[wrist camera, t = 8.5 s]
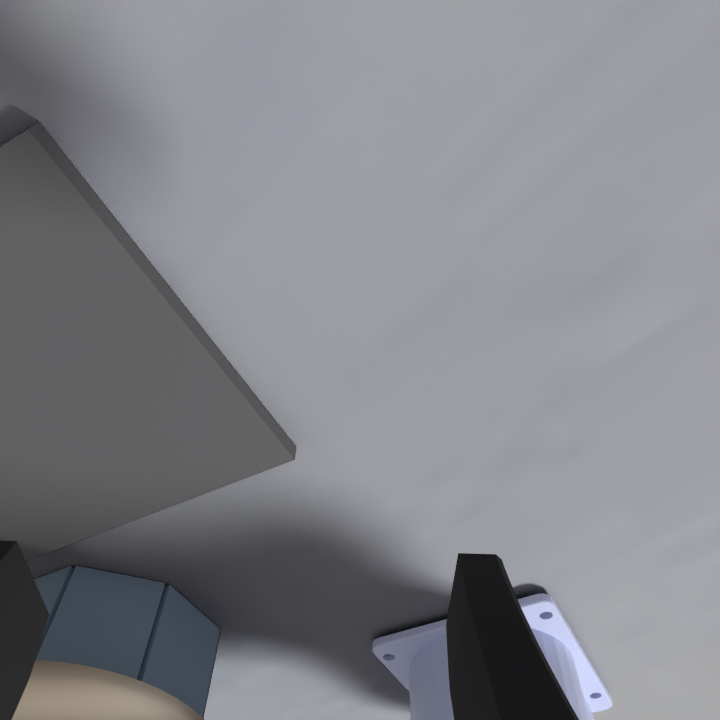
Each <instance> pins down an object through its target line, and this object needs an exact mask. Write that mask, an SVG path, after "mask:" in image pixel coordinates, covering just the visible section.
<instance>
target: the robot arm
mask: <svg viewBox="0 0 720 720" xmlns="http://www.w3.org/2000/svg"><path fill="white" fill-rule="evenodd" d="M48 617H49V613H48V610H47V608H46V606H45V604H44V601H43V599H42V597H41V594H40V592H39V590H38V588H37V585H36V583H35V581H34V578H33V576H32V574H31V572H30V569H29V567H28V565H27V563H26V560H25V558H24V556H23V553H22V551H21V549H20V547H19V544H18V542H17V541H0V720H12V718H13V715H14V713H15V711H16V708H17V706H18V704H19V702H20V699H21V697H22V695H23V692H24V690H25V688H26V685H27V683H28V681H29V678H30V675H31V672H32V669H33V666H34V663H35V660H36V657H37V654H38V651H39V647H40V644H41V641H42V637H43V634H44V630H45V627H46V624H47V620H48ZM372 652H373V653H374V655H375V656H376V657H377V658H378V659H379V660H380V661H381V662H382V663H383V664H384V665H385V666H386V667H387V669H388V670H389V671H390V672H391V673H392V674H393V675H394V676H395V677H396V678H397V679H398V680H399V681H400V683H401V684H402V685H403V686H404V687H405V688H406V689H407V690H408V691H409V692H410V715H411V720H594V716H593V712H598V711H602V710H606V709H609V708H610V707H611V706H612V700H611V696H610V694H609V693H608V691H607V689H606V688H605V686H604V684H603V682H602V681H601V679H600V677H599V676H598V674H597V672H596V671H595V669H594V667H593V666H592V664H591V662H590V661H589V659H588V657H587V655H586V654H585V652H584V650H583V649H582V647H581V645H580V644H579V642H578V640H577V639H576V637H575V635H574V634H573V632H572V630H571V629H570V627H569V625H568V623H567V622H566V620H565V618H564V617H563V615H562V613H561V612H560V610H559V608H558V607H557V605H556V603H555V602H554V600H553V598H552V597H551V596H550V595H547V594H541V593H540V594H535V595H531V596H528V597H524V598H521V599H517V597H516V595H515V592H514V590H513V588H512V585H511V583H510V580H509V578H508V576H507V573H506V570H505V568H504V565H503V562H502V560H501V559H500V558H499V557H498V556H497V555H495V554H459V553H458V559H457V564H456V570H455V576H454V582H453V588H452V593H451V599H450V605H449V611H448V617H447V619H444V620H441V621H437V622H434V623H430V624H426V625H423V626H419V627H416V628H412V629H408V630H405V631H401V632H397V633H394V634H390V635H387V636H383V637H379V638H377V639H375V640H374V641H373V642H372Z"/></svg>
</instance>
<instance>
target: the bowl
mask: <svg viewBox="0 0 720 720" xmlns="http://www.w3.org/2000/svg"><path fill="white" fill-rule="evenodd" d="M34 581H35V583H36V585H37V588H38V590H39V592H40V594H41V597H42V599H43V601H44V604H45V606H46V608H47V610H48V613H49V617H48V620H47V624H46V627H45V630H44V634H43V637H42V641H41V644H40V647H39V651H38V654H37V657H36V660H41V661H56V662H64V663H71V664H79V665H84V666H89V667H94V668H99V669H103V670H107V671H111V672H114V673H118V674H122V675H125V676H128V677H131V678H134V679H136V680H139V681H142V682H145V683H147V684H149V685H152V686H154V687H156V688H159V689H161V690H163V691H165V692H166V693H168V694H170V695H172V696H174V697H176V698H177V699H179V700H180V701H182V702H183V703H185V704H186V705H188V706H189V707H191V708H192V709H193V710H194V711H196V712H197V713H198V714H199V715H200V716H201V717H202V718H204V713H205V708H206V703H207V698H208V693H209V688H210V683H211V678H212V673H213V668H214V663H215V658H216V653H217V648H218V643H219V638H220V634H221V632H219V631H220V629H219V628H218V627H217V626H216V625H215V624H213V623H212V622H211V621H210V620H209V619H208V618H207V617H206V616H204V615H203V614H202V613H201V612H200V611H199V610H198V609H197V608H195V607H194V606H193V605H192V604H191V603H190V602H189V601H188V600H186V599H185V598H184V597H183V596H182V595H181V594H180V593H178V592H177V591H176V590H175V589H174V588H173V587H172V586H171V585H168V586H165V583H164V582H159V581H154V580H148V579H143V578H138V577H133V576H128V575H123V574H117V573H112V572H107V571H102V570H97V569H92V568H87V567H81V566H76V567H75V569H74V568H73V567H72V566H69V567H66V568H63V569H61V570H58V571H55V572H52V573H50V574H47V575H44V576H41V577H39V578H36V579H34ZM164 586H165V587H164Z"/></svg>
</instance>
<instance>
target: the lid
mask: <svg viewBox="0 0 720 720" xmlns="http://www.w3.org/2000/svg"><path fill="white" fill-rule="evenodd" d="M12 720H204V719H203V718H202V717H201V716H200V715H199V714H198V713H197V712H196V711H194V710H193V709H192V708H191V707H189V706H188V705H186V704H185V703H183V702H182V701H180V700H179V699H177V698H176V697H174V696H172V695H170V694H168V693H166V692H165V691H163V690H161V689H159V688H156V687H154V686H152V685H149V684H147V683H145V682H142V681H139V680H136V679H134V678H131V677H128V676H125V675H122V674H118V673H114V672H111V671H107V670H103V669H99V668H94V667H89V666H84V665H79V664H71V663H64V662H56V661H41V660H35V663H34V666H33V669H32V672H31V675H30V678H29V681H28V683H27V685H26V688H25V690H24V692H23V695H22V697H21V699H20V702H19V704H18V706H17V708H16V711H15V713H14V715H13V718H12Z"/></svg>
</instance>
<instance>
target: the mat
mask: <svg viewBox="0 0 720 720" xmlns="http://www.w3.org/2000/svg"><path fill="white" fill-rule="evenodd" d="M295 453H296V446H295V445H294V443H293V442H292V441H291V439H290V438H289V437H288V436H287V434H286V433H285V432H284V431H283V429H282V428H281V427H280V426H279V424H278V423H277V422H276V421H275V419H274V418H273V417H272V415H271V414H270V413H269V412H268V410H267V409H266V408H265V407H264V405H263V404H262V403H261V402H260V400H259V399H258V398H257V397H256V395H255V394H254V393H253V391H252V390H251V389H250V388H249V386H248V385H247V384H246V383H245V381H244V380H243V379H242V378H241V376H240V375H239V374H238V373H237V371H236V370H235V369H234V367H233V366H232V365H231V364H230V362H229V361H228V360H227V359H226V357H225V356H224V355H223V354H222V352H221V351H220V350H219V349H218V347H217V346H216V345H215V343H214V342H213V341H212V340H211V338H210V337H209V336H208V335H207V333H206V332H205V331H204V330H203V328H202V327H201V326H200V325H199V323H198V322H197V321H196V319H195V318H194V317H193V316H192V314H191V313H190V312H189V311H188V309H187V308H186V307H185V306H184V304H183V303H182V302H181V301H180V299H179V298H178V297H177V295H176V294H175V293H174V292H173V290H172V289H171V288H170V287H169V285H168V284H167V283H166V282H165V280H164V279H163V278H162V277H161V275H160V274H159V273H158V271H157V270H156V269H155V268H154V266H153V265H152V264H151V263H150V261H149V260H148V259H147V258H146V256H145V255H144V254H143V253H142V251H141V250H140V249H139V247H138V246H137V245H136V244H135V242H134V241H133V240H132V239H131V237H130V236H129V235H128V234H127V232H126V231H125V230H124V229H123V227H122V226H121V225H120V223H119V222H118V221H117V220H116V218H115V217H114V216H113V215H112V213H111V212H110V211H109V210H108V208H107V207H106V206H105V205H104V203H103V202H102V201H101V199H100V198H99V197H98V196H97V194H96V193H95V192H94V191H93V189H92V188H91V187H90V186H89V184H88V183H87V182H86V181H85V179H84V178H83V177H82V175H81V174H80V173H79V172H78V170H77V169H76V168H75V167H74V165H73V164H72V163H71V162H70V160H69V159H68V158H67V157H66V155H65V154H64V153H63V151H62V150H61V149H60V148H59V146H58V145H57V144H56V143H55V141H54V140H53V139H52V138H51V136H50V135H49V134H48V133H47V131H46V130H45V129H44V127H43V126H42V125H41V124H40V122H37V123H36V124H34V125H33V126H31V127H29V128H28V129H26V130H25V131H23V132H21V133H20V134H18V135H17V136H15V137H14V138H12V139H10V140H9V141H7V142H6V143H4V144H2V145H1V146H0V541H17V542H18V544H19V547H20V549H21V551H22V553H23V556H24V558H25V560H26V561H28V560H30V559H33V558H36V557H38V556H41V555H44V554H46V553H49V552H51V551H54V550H57V549H59V548H62V547H65V546H67V545H70V544H73V543H75V542H78V541H81V540H83V539H86V538H89V537H91V536H94V535H96V534H99V533H102V532H104V531H107V530H110V529H112V528H115V527H118V526H120V525H123V524H126V523H128V522H131V521H134V520H136V519H139V518H141V517H144V516H147V515H149V514H152V513H155V512H157V511H160V510H163V509H165V508H168V507H171V506H173V505H176V504H179V503H181V502H184V501H186V500H189V499H192V498H194V497H197V496H200V495H202V494H205V493H208V492H210V491H213V490H216V489H218V488H221V487H224V486H226V485H229V484H231V483H234V482H237V481H239V480H242V479H245V478H247V477H250V476H253V475H255V474H258V473H261V472H263V471H266V470H269V469H271V468H274V467H276V466H279V465H282V464H284V463H287V462H290V461H292V460H295Z"/></svg>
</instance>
